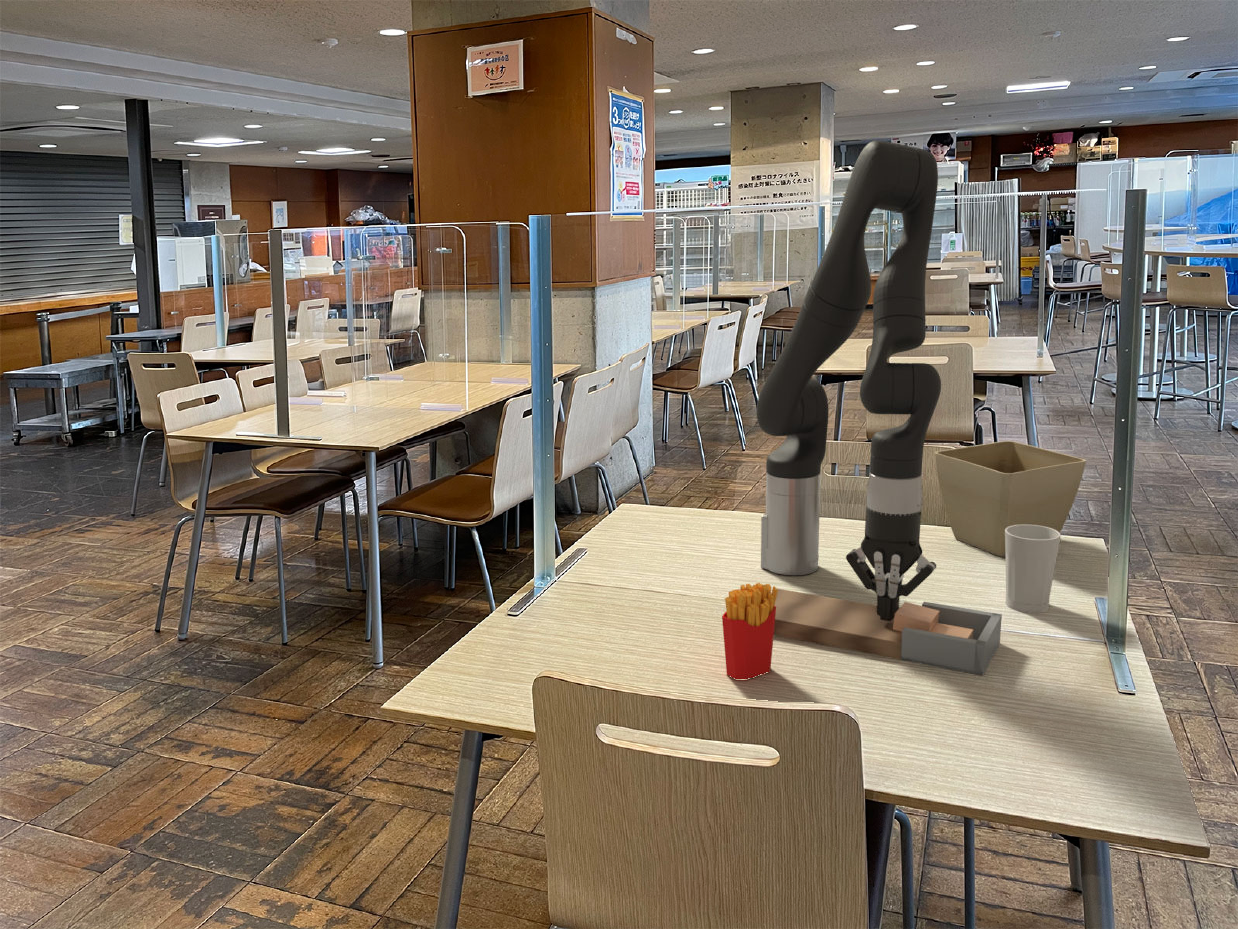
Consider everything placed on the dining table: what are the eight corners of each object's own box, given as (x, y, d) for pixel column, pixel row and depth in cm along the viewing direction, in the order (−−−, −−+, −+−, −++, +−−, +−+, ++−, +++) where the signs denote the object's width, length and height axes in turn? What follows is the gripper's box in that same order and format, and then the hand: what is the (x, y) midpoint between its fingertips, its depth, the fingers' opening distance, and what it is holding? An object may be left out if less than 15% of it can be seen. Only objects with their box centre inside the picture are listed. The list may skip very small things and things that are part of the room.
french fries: (736, 685, 135) (736, 600, 132) (716, 674, 138) (716, 591, 135) (782, 668, 139) (784, 585, 137) (763, 658, 143) (764, 577, 140)
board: (747, 629, 152) (747, 614, 152) (776, 603, 163) (777, 588, 162) (900, 659, 141) (901, 643, 141) (922, 629, 151) (923, 613, 151)
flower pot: (1000, 566, 177) (1007, 472, 173) (927, 536, 194) (931, 450, 190) (1081, 550, 184) (1089, 460, 180) (1003, 523, 201) (1009, 439, 197)
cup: (1059, 616, 155) (1065, 541, 152) (1004, 613, 157) (1009, 538, 154) (1048, 597, 163) (1054, 525, 160) (996, 594, 164) (1001, 523, 161)
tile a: (892, 629, 145) (895, 613, 144) (902, 617, 149) (905, 601, 148) (927, 639, 142) (930, 622, 142) (936, 626, 146) (939, 611, 146)
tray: (900, 659, 141) (902, 630, 140) (922, 629, 151) (924, 601, 150) (982, 675, 136) (985, 645, 135) (999, 643, 146) (1001, 614, 145)
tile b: (927, 651, 143) (928, 635, 142) (936, 639, 147) (937, 622, 146) (963, 659, 140) (965, 642, 139) (972, 645, 144) (973, 629, 144)
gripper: (839, 504, 143) (834, 619, 147) (934, 518, 136) (926, 637, 141) (856, 491, 149) (851, 602, 154) (948, 503, 143) (940, 618, 147)
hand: (887, 618), depth 147 cm, fingers closed
